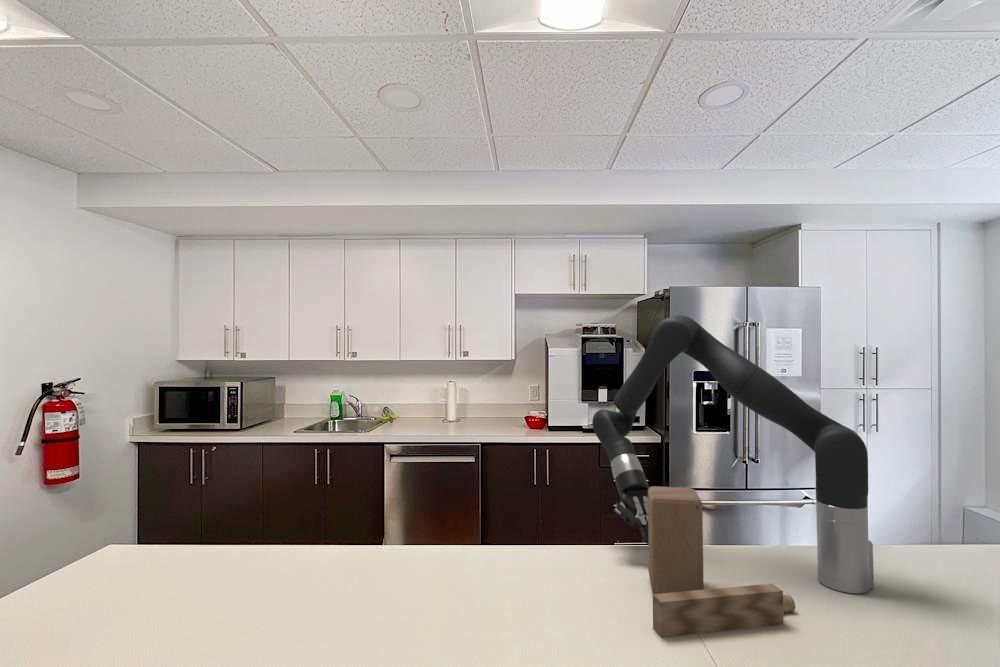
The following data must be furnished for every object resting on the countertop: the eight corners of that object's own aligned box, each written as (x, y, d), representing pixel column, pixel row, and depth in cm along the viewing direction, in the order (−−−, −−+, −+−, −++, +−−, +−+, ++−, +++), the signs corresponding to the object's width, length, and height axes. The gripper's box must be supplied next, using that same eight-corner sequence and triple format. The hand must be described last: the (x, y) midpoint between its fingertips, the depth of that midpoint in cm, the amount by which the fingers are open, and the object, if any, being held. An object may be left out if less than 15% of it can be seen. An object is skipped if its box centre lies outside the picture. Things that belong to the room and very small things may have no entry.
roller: (784, 607, 101) (783, 591, 101) (795, 614, 98) (794, 598, 98) (738, 612, 99) (737, 596, 99) (748, 619, 96) (747, 602, 96)
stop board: (772, 616, 97) (771, 583, 97) (783, 624, 94) (782, 590, 94) (653, 628, 93) (652, 594, 93) (661, 637, 90) (660, 602, 90)
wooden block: (704, 601, 103) (703, 499, 103) (652, 596, 105) (651, 497, 105) (696, 579, 112) (694, 487, 113) (648, 575, 114) (647, 484, 115)
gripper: (608, 469, 128) (629, 536, 115) (658, 467, 130) (684, 533, 117) (600, 485, 133) (619, 551, 120) (648, 483, 135) (672, 548, 122)
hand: (651, 542), depth 119 cm, fingers closed
